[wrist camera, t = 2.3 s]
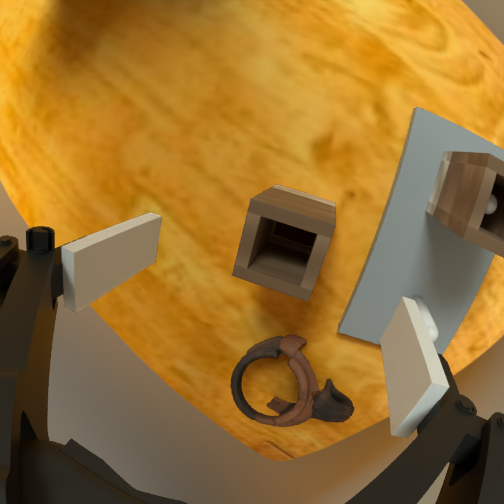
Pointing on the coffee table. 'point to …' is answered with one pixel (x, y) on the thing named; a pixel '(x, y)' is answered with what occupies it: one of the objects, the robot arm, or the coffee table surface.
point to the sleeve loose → (284, 241)
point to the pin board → (420, 243)
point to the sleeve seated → (470, 198)
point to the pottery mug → (319, 406)
